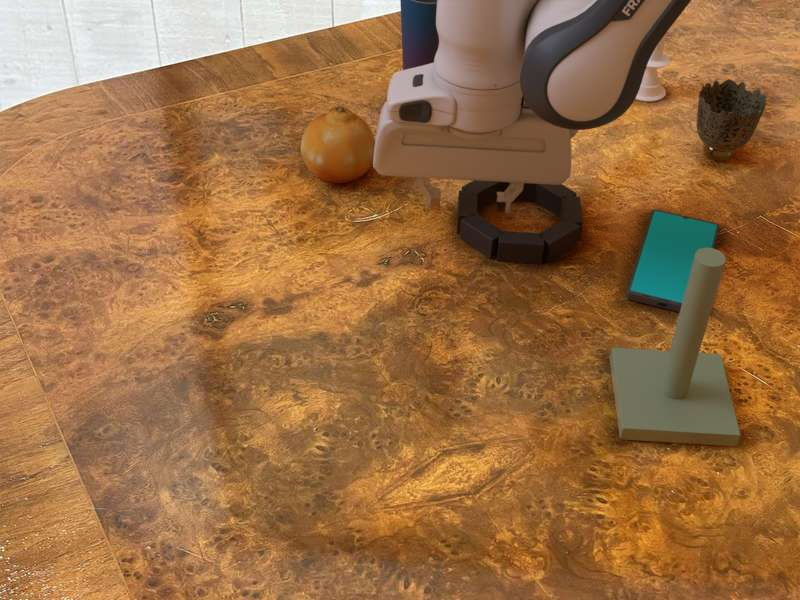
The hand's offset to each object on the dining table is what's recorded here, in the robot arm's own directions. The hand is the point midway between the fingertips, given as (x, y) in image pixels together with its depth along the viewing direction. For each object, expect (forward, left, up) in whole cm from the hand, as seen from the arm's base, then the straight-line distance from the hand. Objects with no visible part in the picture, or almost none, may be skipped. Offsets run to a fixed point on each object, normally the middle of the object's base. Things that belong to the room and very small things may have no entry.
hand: (467, 208), depth 113 cm
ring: (-5, 0, -2) cm, 6 cm away
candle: (-22, -30, -2) cm, 38 cm away
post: (-18, +25, -2) cm, 31 cm away
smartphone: (-21, +5, -2) cm, 22 cm away
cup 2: (-29, -16, -2) cm, 34 cm away
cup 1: (+6, -24, -2) cm, 25 cm away
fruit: (+15, -8, -2) cm, 17 cm away
